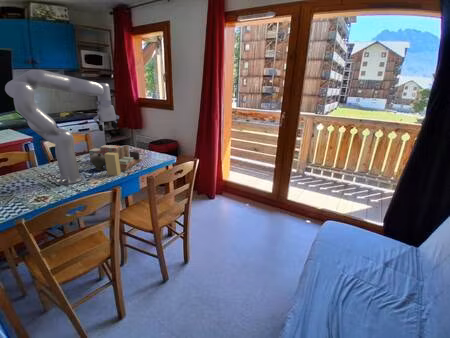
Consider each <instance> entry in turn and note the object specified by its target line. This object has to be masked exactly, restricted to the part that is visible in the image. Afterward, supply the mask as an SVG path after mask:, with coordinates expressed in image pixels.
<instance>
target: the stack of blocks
mask: <svg viewBox="0 0 450 338" xmlns="http://www.w3.org/2000/svg"><path fill="white" fill-rule="evenodd" d="M120 148H122V147H121V146H120V145H113V144H109V145H108V144H107V145H106V144H104V145H102V146H100V148H91V149H90V150H88V153H89V158H90V157H91V156H92V155H93V154H94V153H101V154H102V155H104V154H106V153H108V152H109V153H111V152H113V151H115V150H117V149H120ZM93 152H94V153H93ZM104 156H105V155H104Z"/></svg>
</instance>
